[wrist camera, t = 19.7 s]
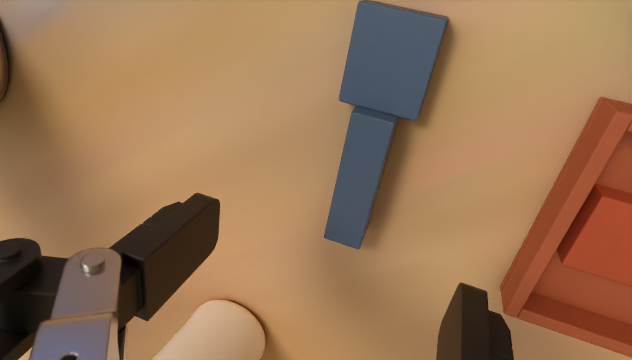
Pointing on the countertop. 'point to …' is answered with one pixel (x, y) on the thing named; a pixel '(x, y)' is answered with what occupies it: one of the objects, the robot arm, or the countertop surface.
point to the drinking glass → (216, 335)
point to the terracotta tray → (551, 226)
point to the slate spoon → (379, 104)
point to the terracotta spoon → (601, 236)
